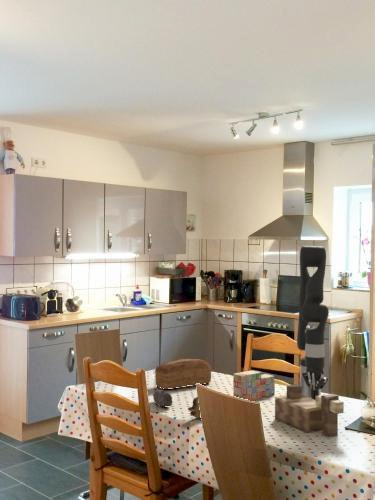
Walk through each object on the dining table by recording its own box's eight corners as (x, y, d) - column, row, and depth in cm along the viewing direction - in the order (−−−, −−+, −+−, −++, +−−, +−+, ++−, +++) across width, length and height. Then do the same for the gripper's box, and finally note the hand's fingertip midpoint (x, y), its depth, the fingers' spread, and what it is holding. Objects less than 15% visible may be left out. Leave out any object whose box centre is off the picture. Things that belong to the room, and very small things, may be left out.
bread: (151, 387, 286) (151, 361, 286) (201, 379, 302) (201, 355, 302) (163, 392, 276) (163, 365, 276) (214, 384, 292) (214, 358, 292)
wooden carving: (209, 412, 242) (209, 389, 242) (218, 414, 239) (218, 390, 239) (185, 421, 229) (185, 396, 229) (194, 423, 226) (194, 398, 226)
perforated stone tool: (149, 401, 258) (149, 387, 258) (160, 400, 261) (160, 385, 261) (162, 410, 245) (162, 394, 245) (173, 408, 247) (173, 393, 247)
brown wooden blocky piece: (274, 419, 232) (274, 383, 232) (297, 415, 237) (297, 379, 237) (320, 438, 208) (320, 398, 207) (344, 433, 213) (344, 394, 213)
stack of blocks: (265, 392, 276) (265, 367, 276) (274, 395, 271) (274, 369, 271) (233, 399, 263) (233, 373, 263) (241, 402, 258) (241, 375, 258)
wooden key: (315, 405, 217) (315, 395, 217) (321, 404, 218) (321, 394, 218) (337, 413, 206) (337, 403, 206) (343, 412, 208) (343, 402, 208)
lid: (275, 399, 232) (275, 384, 232) (297, 396, 238) (297, 381, 238) (306, 412, 214) (306, 396, 214) (330, 407, 220) (330, 392, 220)
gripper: (333, 356, 215) (333, 401, 215) (310, 351, 226) (310, 394, 226) (319, 358, 211) (319, 404, 211) (296, 353, 223) (296, 396, 223)
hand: (314, 398), depth 219 cm, fingers closed
